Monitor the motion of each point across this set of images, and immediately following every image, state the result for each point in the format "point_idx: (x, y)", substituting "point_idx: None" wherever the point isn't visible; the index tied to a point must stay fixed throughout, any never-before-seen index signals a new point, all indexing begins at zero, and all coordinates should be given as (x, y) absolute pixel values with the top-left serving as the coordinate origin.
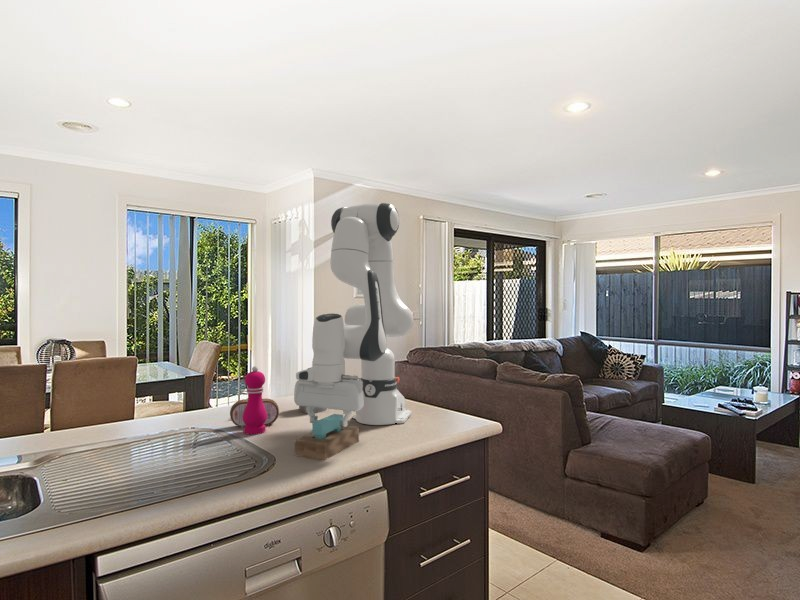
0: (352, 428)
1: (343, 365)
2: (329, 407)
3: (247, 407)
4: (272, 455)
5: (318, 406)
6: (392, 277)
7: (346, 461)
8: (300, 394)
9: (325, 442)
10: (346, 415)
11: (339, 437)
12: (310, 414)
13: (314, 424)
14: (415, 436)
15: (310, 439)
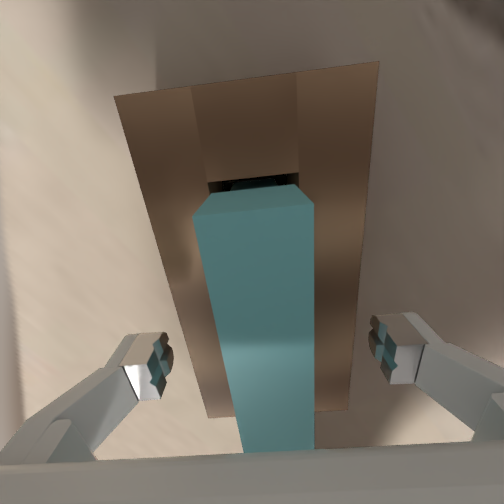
0: (217, 398)
1: None
2: (196, 474)
3: None
4: (468, 6)
5: (393, 462)
6: None
7: (63, 151)
8: None
9: (142, 134)
10: (43, 411)
11: (167, 274)
12: (452, 359)
13: (287, 203)
14: (111, 452)
15: (278, 139)
